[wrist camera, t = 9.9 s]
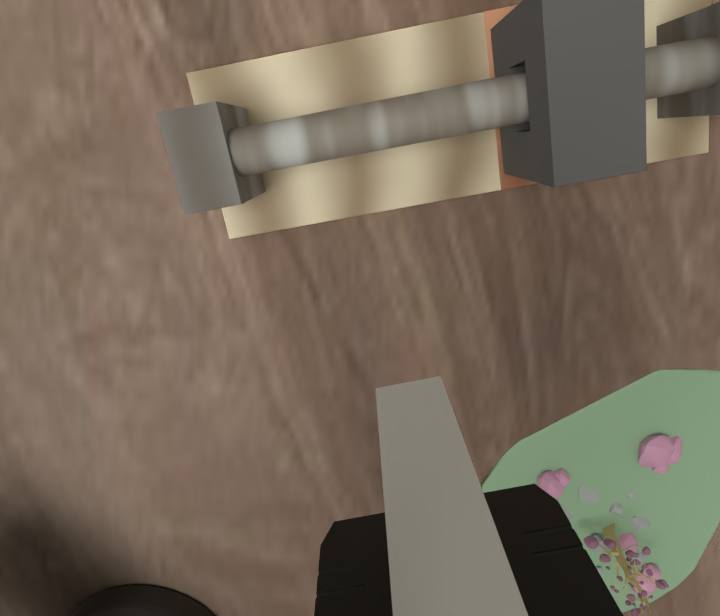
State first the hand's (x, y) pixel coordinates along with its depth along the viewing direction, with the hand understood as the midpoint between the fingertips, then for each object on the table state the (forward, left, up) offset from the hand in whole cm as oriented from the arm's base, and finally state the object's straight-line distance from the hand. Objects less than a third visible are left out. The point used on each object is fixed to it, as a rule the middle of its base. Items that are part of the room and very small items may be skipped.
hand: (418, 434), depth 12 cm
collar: (+10, +7, -23) cm, 26 cm away
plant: (+15, -23, -25) cm, 37 cm away
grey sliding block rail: (+5, +7, -24) cm, 26 cm away
